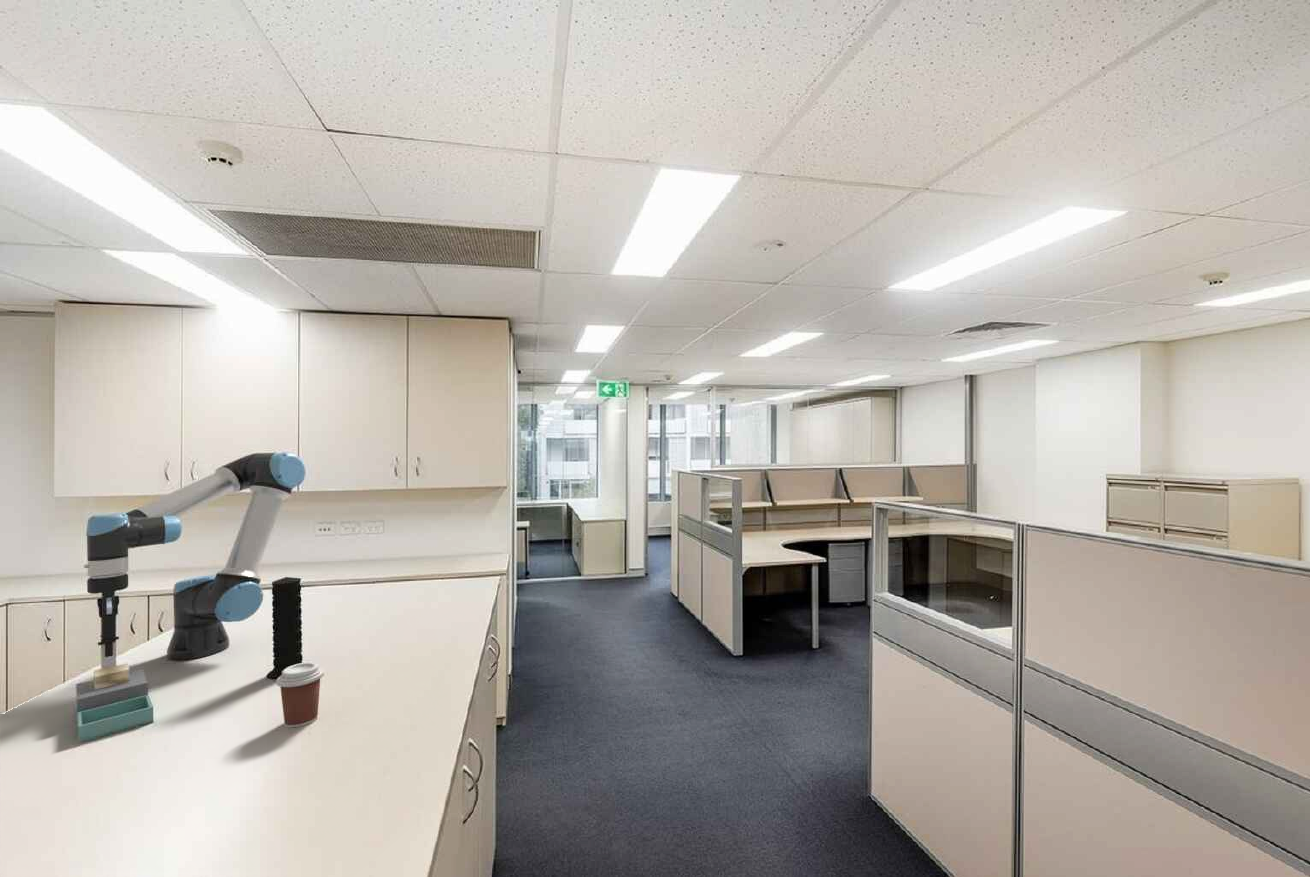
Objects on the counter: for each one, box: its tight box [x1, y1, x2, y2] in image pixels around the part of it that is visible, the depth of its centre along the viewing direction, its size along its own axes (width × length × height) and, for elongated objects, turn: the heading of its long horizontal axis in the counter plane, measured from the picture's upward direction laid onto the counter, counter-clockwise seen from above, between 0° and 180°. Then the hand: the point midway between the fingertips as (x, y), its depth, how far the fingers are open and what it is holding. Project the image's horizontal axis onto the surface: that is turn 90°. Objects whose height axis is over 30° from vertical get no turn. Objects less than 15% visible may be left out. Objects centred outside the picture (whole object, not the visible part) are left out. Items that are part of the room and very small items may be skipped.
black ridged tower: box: [265, 576, 304, 680], centre depth 157 cm, size 10×26×10 cm
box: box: [77, 694, 154, 744], centre depth 128 cm, size 12×10×4 cm
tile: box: [93, 663, 130, 690], centre depth 138 cm, size 6×6×3 cm
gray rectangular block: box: [75, 668, 149, 726], centre depth 137 cm, size 12×13×6 cm
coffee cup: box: [276, 661, 325, 729], centre depth 128 cm, size 9×9×12 cm
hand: (108, 668), depth 143 cm, fingers closed
